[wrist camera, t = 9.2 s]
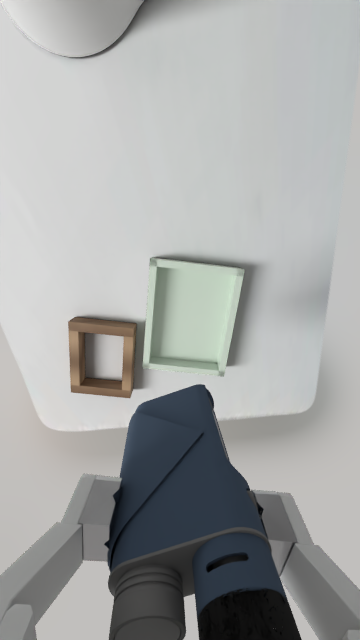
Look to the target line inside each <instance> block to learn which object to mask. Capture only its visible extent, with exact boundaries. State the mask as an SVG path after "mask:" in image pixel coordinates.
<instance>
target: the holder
mask: <svg viewBox="0 0 360 640" xmlns="http://www.w3.org/2000/svg"><path fill="white" fill-rule="evenodd" d="M68 326H69V352H70V378H71V392H73V393H83V394H94V395H104V396H114V397H124V398H130V397H131V394H132V391H133V380H134V363H135V345H136V328H137V324H136V323H127V322H118V321H108V320H99V319H90V318H81V317H74V318H73V319H71V320H70V321H69V322H68ZM85 332H87V333H96V334H106V335H115V336H124V347H123V372H122V381H112V380H102V379H92V378H85Z"/></svg>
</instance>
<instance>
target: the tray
mask: <svg viewBox="0 0 360 640" xmlns="http://www.w3.org/2000/svg"><path fill="white" fill-rule="evenodd" d="M244 271H245V269H242V268H240V267H231V266H222V265H214V264H205V263H196V262H188V261H179V260H170V259H162V258H150V268H149V282H148V296H147V311H146V325H145V339H144V354H143V368H145V369H155V370H164V371H174V372H184V373H194V374H203V375H213V376H223V377H224V374H225V369H226V364H227V358H228V353H229V348H230V343H231V338H232V333H233V328H234V322H235V317H236V312H237V307H238V302H239V297H240V292H241V286H242V281H243V276H244Z"/></svg>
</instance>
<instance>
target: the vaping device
mask: <svg viewBox="0 0 360 640" xmlns="http://www.w3.org/2000/svg"><path fill="white" fill-rule="evenodd" d="M213 408H214V401H213V398H212V395H211V393H210V392H209V391H208V390H207V389H206V388H205V385H201V384H200V385H194V386H191V387H188V388H185V389H182V390H179V391H176V392H173V393H170V394H167V395H164V396H161V397H158V398H156V399H153V400H150V401H147V402H144V403H142V404H141V405H139V406H138V408H137V409H136V412H135V413H134V414H133V416H132V418H131V420H130V423H129V428H128V433H127V439H126V445H125V450H124V456H123V461H122V468H121V473H120V478H123V485H122V489H121V493H120V497H119V502H118V504H117V505H116V509H115V518H114V522H113V526H112V530H111V535H110V541H109V550H108V552H107V561H108V566H109V569H110V572H111V573H110V576H109V581H108V587H109V590H110V592H111V594H112V595H113V596H114V605H113V611H112V619H111V627H110V634H109V640H183V639H184V637H185V634H186V626H185V612H184V611H185V610H184V597H185V596H188V595H192V594H195V599H196V610H197V621H198V631H199V640H301V637H300V634H299V631H298V629H297V626H296V623H295V620H294V617H293V614H292V611H291V608H290V606H289V603H288V600H287V597H286V595H285V592H284V589H283V586H282V583H281V580H280V577H279V574H278V571H277V569H276V566H275V563H274V560H273V557H272V549H271V545H270V542H269V540H268V539H267V536H266V533H265V530H264V528H263V525H262V522H261V520H260V516H259V514H258V507H257V504H256V501H255V499H254V496H253V493H252V492H251V491H250V488H249V486H248V483H247V481H246V480H245V479H244V477H243V476H242V475H241V474H240V473H239V472H238V471H237V470H236V469H235V468H234V467H233V466H232V465H231V463H230V461H229V457H228V454H227V451H226V448H225V445H224V442H223V438H222V435H221V432H220V429H219V426H218V422H217V419H216V416H215V413H214V411H213ZM273 628H274V629H273Z"/></svg>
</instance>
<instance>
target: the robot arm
mask: <svg viewBox="0 0 360 640" xmlns="http://www.w3.org/2000/svg"><path fill="white" fill-rule="evenodd" d="M143 1H144V0H0V3H1V4H2V6H3V8H4V9H5V11H6V13H7V14H8V16H9V17H10V18H11V20H12V21H13V22H14V24H15V25H16V26H17V27H18V28H19V29H20V30H21V31H22V32H23V33H24V34H25V35H26V36H27V37H28V38H29V39H30V40H32V41H33V42H34V43H36V44H37V45H39V46H40V47H42V48H44V49H45V50H48V51H50V52H52V53H55V54H58V55H62V56H67V57H84V56H89V55H92V54H95V53H98V52H100V51H102V50H104V49H105V48H107V47H109V46H110V45H111V44H112V43H114V42H115V41H116V40H117V39H118V38H119V37H120V36H121V35H122V34H123V32H124V31H125V30H126V28H127V27H128V25H129V24H130V22H131V21H132V19H133V17H134V15H135V14H136V12H137V10H138V8H139V7H140V5H141V4H142V3H143ZM122 485H123V478H118V477H110V476H100V475H93V474H83V475H82V476H81V478H80V480H79V482H78V485H77V487H76V489H75V491H74V494H73V496H72V498H71V501H70V503H69V505H68V508H67V510H66V512H65V515H64V517H63V519H62V521H61V523H59V522H57V523H56V524H54V525H53V526H52V527H51V528H50V529H49V530H48V531H47V532H46V533H45V534H44V535H43V536H42V537H41V538H40V539H39V540H37V541H36V542H35V543H34V544H33V545H32V547H30V548H29V549H28V550H27V551H26V552H25V553H24V554H23V555H22V556H20V557H19V558H18V559H17V560H16V561H15V562H14V563H13V564H12V565H11V566H10V567H9V568H8V569H7V570H6V571H5V572H4V573H2V574H1V575H0V640H37V638H36V630H35V625H36V624H37V622H38V621H39V620H40V618H41V617H42V616H43V614H44V613H45V612H46V610H47V609H48V608H49V607H50V605H51V604H52V603H53V601H54V600H55V599H56V597H57V596H58V594H59V593H60V592H61V591H62V589H63V588H64V587H65V585H66V584H67V583H68V581H69V580H70V578H71V577H72V576H73V574H74V573H75V572H76V570H77V569H78V568H79V567H80V565H81V564H82V561H83V560H88V561H89V560H90V561H107V552H108V550H109V541H110V535H111V530H112V526H113V522H114V518H115V509H116V505H117V504H118V502H119V497H120V493H121V489H122ZM251 492H252V493H253V496H254V499H255V501H256V504H257V507H258V514H259V516H260V520H261V522H262V525H263V528H264V530H265V533H266V536H267V539H268V540H269V542H270V545H271V549H272V557H273V560H274V563H275V566H276V569H277V571H278V574H279V577H280V579H281V581H282V582H283V584H284V586H285V587H286V589H287V590H288V592H289V593H290V595H291V596H292V598H293V600H294V601H295V603H296V604H297V606H298V607H299V609H300V610H301V612H302V614H303V615H304V617H305V618H306V620H307V621H308V623H309V624H310V626H311V628H312V629H313V631H314V632H315V634H316V635H317V637H318V638H319V640H360V590H359V589H358V587H357V586H356V585H355V584H354V583H353V582H352V581H351V580H350V579H349V578H348V577H347V576H346V575H345V573H344V572H343V571H342V570H341V569H340V568H339V567H338V566H337V565H336V564H335V563H334V562H333V561H332V560H331V559H330V558H329V556H328V555H327V554H326V553H325V552H324V551H323V550H322V549H321V548H320V547H319V546H318V545H314V543H313V541H312V539H311V537H310V534H309V532H308V530H307V528H306V525H305V523H304V521H303V519H302V516H301V514H300V512H299V510H298V507H297V505H296V503H295V501H294V499H293V497H292V495H291V494H290V493H280V492H275V491H262V490H251Z"/></svg>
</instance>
